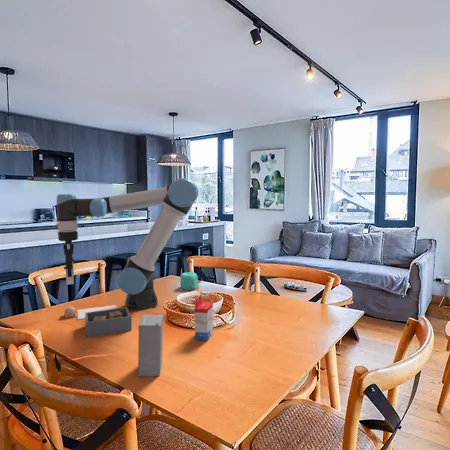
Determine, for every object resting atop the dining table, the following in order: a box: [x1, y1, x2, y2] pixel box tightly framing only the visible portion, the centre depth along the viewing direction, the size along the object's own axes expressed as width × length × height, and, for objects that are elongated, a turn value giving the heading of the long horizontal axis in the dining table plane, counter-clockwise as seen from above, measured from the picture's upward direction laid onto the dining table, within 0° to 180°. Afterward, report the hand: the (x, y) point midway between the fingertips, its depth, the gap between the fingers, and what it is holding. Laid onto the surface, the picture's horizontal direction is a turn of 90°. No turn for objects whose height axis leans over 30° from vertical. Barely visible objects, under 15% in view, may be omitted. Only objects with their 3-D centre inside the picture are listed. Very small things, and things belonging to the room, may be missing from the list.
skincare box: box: [137, 314, 164, 378], centre depth 103 cm, size 8×7×16 cm
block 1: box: [93, 316, 106, 321], centre depth 132 cm, size 4×4×5 cm
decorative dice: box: [179, 271, 199, 291], centre depth 193 cm, size 8×8×8 cm
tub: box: [84, 306, 133, 338], centre depth 134 cm, size 16×12×6 cm
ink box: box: [194, 294, 214, 341], centre depth 127 cm, size 8×5×15 cm, turn 168°
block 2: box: [109, 311, 122, 319], centre depth 137 cm, size 4×4×5 cm
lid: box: [63, 304, 118, 321], centre depth 151 cm, size 22×13×4 cm, turn 113°
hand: (70, 280), depth 147 cm, fingers open, 13 cm apart
